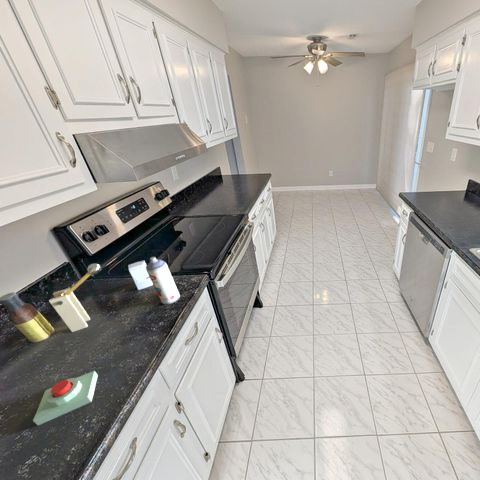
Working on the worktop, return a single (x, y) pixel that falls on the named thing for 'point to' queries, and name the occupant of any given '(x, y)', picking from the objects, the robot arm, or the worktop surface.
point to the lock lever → (84, 278)
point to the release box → (67, 398)
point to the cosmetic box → (140, 275)
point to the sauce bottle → (26, 318)
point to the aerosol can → (162, 281)
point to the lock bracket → (70, 310)
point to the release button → (61, 388)
